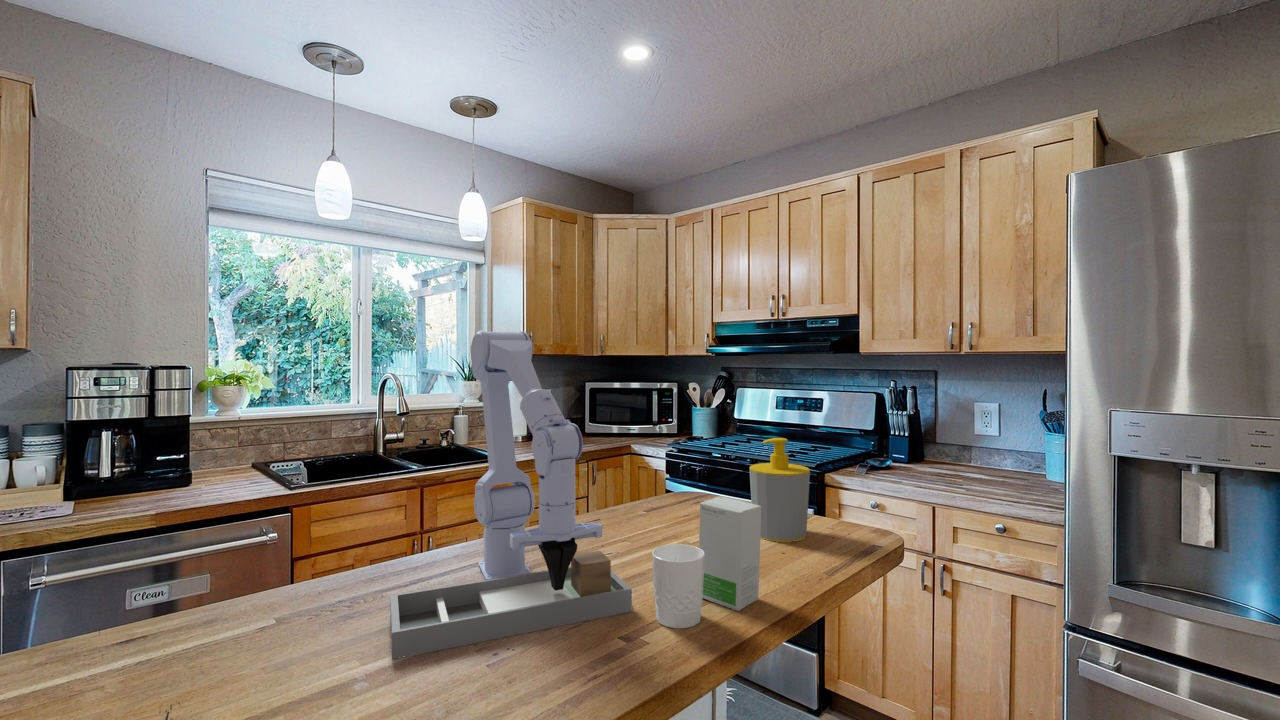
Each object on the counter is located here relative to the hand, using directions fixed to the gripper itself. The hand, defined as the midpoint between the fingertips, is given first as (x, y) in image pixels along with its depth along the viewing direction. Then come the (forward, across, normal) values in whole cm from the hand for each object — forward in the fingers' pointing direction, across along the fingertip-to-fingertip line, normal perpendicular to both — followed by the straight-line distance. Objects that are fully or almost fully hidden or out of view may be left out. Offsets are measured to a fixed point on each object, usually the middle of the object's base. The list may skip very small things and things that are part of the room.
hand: (557, 587), depth 91 cm
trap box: (+3, -7, 0) cm, 8 cm away
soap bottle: (+3, +56, +15) cm, 58 cm away
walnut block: (+1, +6, 0) cm, 6 cm away
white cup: (+3, +15, -12) cm, 20 cm away
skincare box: (+3, +26, -9) cm, 28 cm away
